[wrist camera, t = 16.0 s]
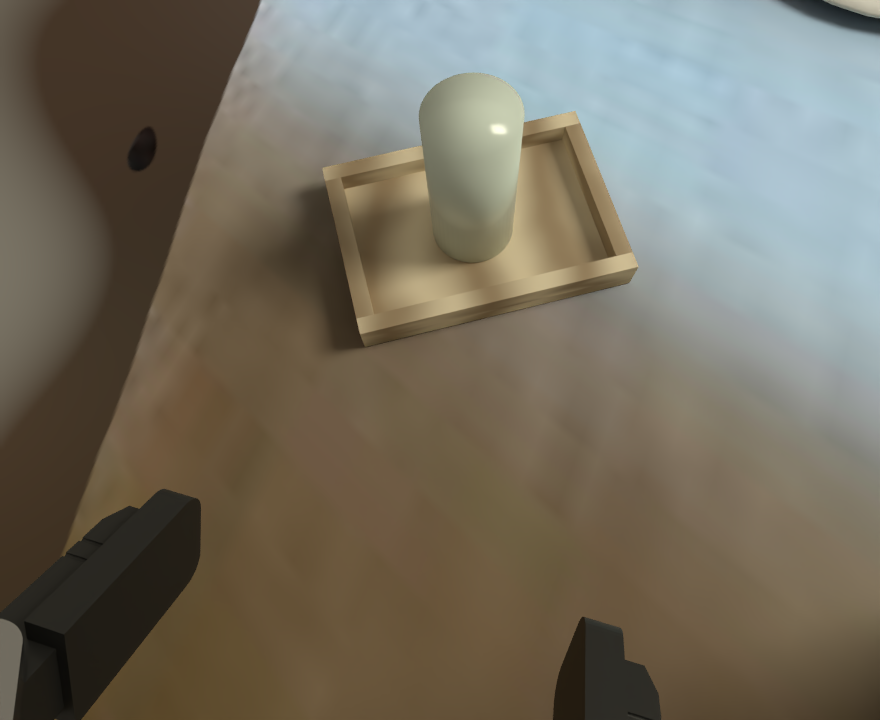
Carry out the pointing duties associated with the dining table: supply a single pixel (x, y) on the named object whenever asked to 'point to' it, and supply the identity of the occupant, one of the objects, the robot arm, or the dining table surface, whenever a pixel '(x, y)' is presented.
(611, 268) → the tray
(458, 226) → the sage domed cylinder
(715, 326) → the dining table surface
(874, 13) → the plated food
